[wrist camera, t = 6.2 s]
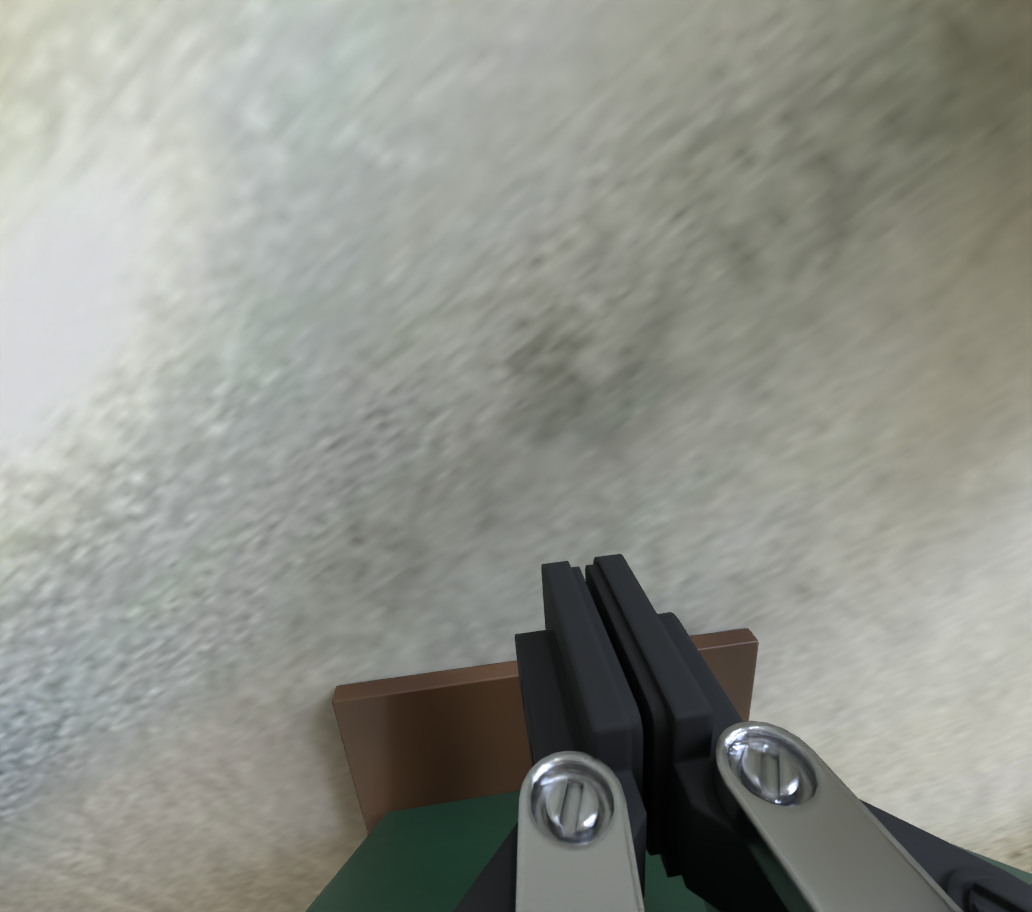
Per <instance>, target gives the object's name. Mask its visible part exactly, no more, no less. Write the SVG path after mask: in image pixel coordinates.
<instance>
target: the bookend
mask: <svg viewBox="0 0 1032 912" xmlns="http://www.w3.org/2000/svg"><path fill="white" fill-rule="evenodd" d="M689 637H690V638H691V640H692V641H693V643H694V645H695V646H696V648H697V649H698V651H699V652H700V654H701V656H702V657H703V659H704V660H705V662H706V663H707V665H708V667H709V668H710V670H711V671H712V673H713V674H714V676H715V677H716V679H717V681H718V682H719V684H720V685H721V687H722V688H723V690H724V692H725V693H726V695H727V696H728V698H729V699H730V701H731V703H732V704H733V706H734V707H735V709H736V710H737V712H738V714H739V715H740V717H741V718H742V720H743V721H744V722H747V721H749V714H750V706H751V698H752V690H753V683H754V675H755V667H756V659H757V651H758V644H759V642H758V640H757V639H756V637H755V636H754V635H753V634H752V632H751V631H750V630H749V629H748V628H745V629H738V630H731V631H724V632H716V633H709V634H702V635H695V636H689ZM332 704H333V708H334V711H335V715H336V719H337V722H338V726H339V730H340V733H341V737H342V741H343V744H344V748H345V752H346V755H347V759H348V763H349V766H350V770H351V774H352V777H353V781H354V785H355V788H356V792H357V796H358V799H359V803H360V807H361V810H362V814H363V818H364V821H365V825H366V829H367V833H368V835H369V834H370V833H371V832H372V831H373V829H374V828H375V827H376V826H377V824H378V823H379V822H380V821H381V820H382V818H383V817H384V816H385V815H386V814H387V812H391V811H397V810H403V809H409V808H415V807H422V806H428V805H434V804H440V803H446V802H453V801H459V800H465V799H471V798H477V797H484V796H490V795H496V794H502V793H508V792H515V791H521V786H522V783H523V781H524V779H525V777H526V776H527V774H528V772H529V770H530V769H531V768H532V763H531V756H530V750H529V743H528V737H527V730H526V724H525V717H524V711H523V704H522V697H521V689H520V681H519V673H518V664H517V661H510V662H503V663H496V664H489V665H482V666H474V667H467V668H460V669H453V670H446V671H439V672H432V673H425V674H417V675H410V676H403V677H396V678H389V679H382V680H375V681H368V682H360V683H353V684H346V685H339V686H337V687H336V691H335V694H334V697H333V701H332Z"/></svg>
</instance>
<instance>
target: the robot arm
mask: <svg viewBox="0 0 1032 912" xmlns="http://www.w3.org/2000/svg"><path fill="white" fill-rule="evenodd" d="M585 579H586V582H585ZM585 579H584V577H583V574H582V572H581V570H580V568H579V567H570V564H569V562H568V561H563V562H555V563H548V564H542V584H543V599H544V613H545V627H546V630H543V631H536V632H529V633H522V634H515V644H516V654H517V664H518V673H519V681H520V689H521V697H522V704H523V711H524V717H525V724H526V730H527V737H528V743H529V750H530V756H531V763H532V768H531V769H530V770H529V772H528V774H527V776H526V777H525V779H524V781H523V783H522V786H521V792H520V797H519V814H518V822H517V823H516V825H515V826H514V828H513V829H512V830H511V832H510V833H509V834H508V836H507V837H506V839H505V840H504V841H503V843H502V844H501V846H500V847H499V848H498V850H497V851H496V852H495V854H494V855H493V857H492V858H491V859H490V861H489V862H488V864H487V865H486V866H485V868H484V869H483V870H482V872H481V873H480V875H479V876H478V877H477V879H476V880H475V882H474V883H473V884H472V886H471V887H470V888H469V890H468V891H467V893H466V894H465V895H464V897H463V898H462V900H461V901H460V902H459V904H458V905H457V907H456V908H455V909H454V911H453V912H645V910H644V905H643V898H644V896H645V861H646V849H647V852H648V854H649V855H650V856H653V855H658V854H659V855H660V857H661V860H662V863H663V866H664V869H665V872H666V875H667V878H669V877H675V876H680V875H682V878H683V881H684V883H685V886H686V888H687V889H689V890H690V891H692V892H693V893H694V894H696V895H697V896H699V897H700V898H702V899H703V900H704V904H705V907H706V910H707V912H1032V885H1029V884H1027V883H1026V882H1024V881H1022V880H1020V879H1019V878H1017V877H1015V876H1014V875H1012V874H1010V873H1009V872H1007V871H1005V870H1003V869H1001V868H999V867H997V866H995V865H993V864H991V863H989V862H987V861H985V860H983V859H981V858H979V857H977V856H975V855H973V854H971V853H969V852H967V851H965V850H962V849H960V848H958V847H956V846H954V845H952V844H950V843H948V842H946V841H944V840H942V839H940V838H938V837H936V836H934V835H932V834H930V833H928V832H926V831H924V830H922V829H919V828H917V827H915V826H913V825H911V824H909V823H907V822H905V821H903V820H901V819H899V818H897V817H895V816H893V815H891V814H889V813H887V812H885V811H883V810H881V809H878V808H876V807H874V806H872V805H870V804H868V803H866V802H864V801H862V800H860V799H858V798H857V797H856V796H855V794H854V793H853V792H852V791H851V790H850V789H849V788H848V787H847V786H846V785H845V784H844V783H843V782H842V780H841V779H840V778H839V777H838V776H837V775H836V774H835V773H834V772H833V771H832V770H831V769H830V768H829V766H828V765H827V764H826V763H825V762H824V761H823V760H822V759H821V758H820V757H819V756H818V755H817V753H816V752H815V751H814V750H813V749H812V748H810V747H809V746H808V745H807V744H806V743H805V742H804V741H802V740H801V739H800V738H799V737H797V736H795V735H794V734H792V733H790V732H788V731H787V730H785V729H783V728H780V727H777V726H775V725H772V724H769V723H764V722H755V721H747V722H744V721H743V720H742V718H741V717H740V715H739V714H738V712H737V710H736V709H735V707H734V706H733V704H732V703H731V701H730V699H729V698H728V696H727V695H726V693H725V692H724V690H723V688H722V687H721V685H720V684H719V682H718V681H717V679H716V677H715V676H714V674H713V673H712V671H711V670H710V668H709V667H708V665H707V663H706V662H705V660H704V659H703V657H702V656H701V654H700V652H699V651H698V649H697V648H696V646H695V645H694V643H693V641H692V640H691V638H690V637H689V635H688V634H687V632H686V630H685V629H684V627H683V626H682V624H681V623H680V621H679V619H678V618H677V617H676V616H675V615H674V614H673V613H671V612H668V613H661V614H657V613H656V612H655V610H654V608H653V606H652V605H651V603H650V601H649V600H648V598H647V596H646V595H645V593H644V591H643V589H642V588H641V586H640V584H639V583H638V581H637V579H636V577H635V576H634V574H633V572H632V571H631V569H630V567H629V565H628V564H627V562H626V560H625V559H624V557H623V556H622V554H616V555H608V556H601V557H595V558H594V562H593V565H586V568H585Z"/></svg>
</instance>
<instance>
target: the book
mask: <svg viewBox="0 0 1032 912" xmlns="http://www.w3.org/2000/svg"><path fill="white" fill-rule="evenodd" d="M520 792H521V791H515V792H508V793H502V794H496V795H490V796H484V797H477V798H471V799H465V800H459V801H453V802H446V803H440V804H434V805H428V806H422V807H415V808H409V809H403V810H397V811H391V812H387V814H386V815H385V816H384V817H383V818H382V820H381V821H380V822H379V823H378V824H377V826H376V827H375V828H374V829H373V831H372V832H371V833H370V834H369V835H368V837H367V838H366V839H365V840H364V841H363V843H362V844H361V845H360V846H359V847H358V849H357V850H356V851H355V852H354V854H353V855H352V856H351V857H350V858H349V860H348V861H347V862H346V863H345V864H344V866H343V867H342V868H341V869H340V870H339V872H338V873H337V874H336V875H335V876H334V878H333V879H332V880H331V881H330V883H329V884H328V885H327V886H326V887H325V889H324V890H323V891H322V892H321V893H320V895H319V896H318V897H317V898H316V899H315V901H314V902H313V903H312V904H311V906H310V907H309V908H308V909H307V910H306V912H453V911H454V909H455V908H456V907H457V905H458V904H459V902H460V901H461V900H462V898H463V897H464V895H465V894H466V893H467V891H468V890H469V888H470V887H471V886H472V884H473V883H474V882H475V880H476V879H477V877H478V876H479V875H480V873H481V872H482V870H483V869H484V868H485V866H486V865H487V864H488V862H489V861H490V859H491V858H492V857H493V855H494V854H495V852H496V851H497V850H498V848H499V847H500V846H501V844H502V843H503V841H504V840H505V839H506V837H507V836H508V834H509V833H510V832H511V830H512V829H513V828H514V826H515V825H516V823H517V822H518V814H519V797H520ZM952 845H953V844H952ZM954 846H956V845H954ZM956 847H958V846H956ZM958 848H960V849H962V850H965V851H967V852H969V853H971V854H973V855H975V856H977V857H979V858H981V859H983V860H985V861H987V862H989V863H991V864H993V865H995V866H997V867H999V868H1001V869H1003V870H1005V871H1007V872H1009V873H1010V874H1012V875H1014V876H1015V877H1017V878H1019V879H1020V880H1022V881H1024V882H1026V883H1027V884H1029V885H1032V874H1030V873H1028V872H1025V871H1022V870H1020V869H1017V868H1014V867H1012V866H1009V865H1006V864H1004V863H1001V862H998V861H996V860H993V859H990V858H988V857H985V856H982V855H980V854H977V853H974V852H972V851H969V850H966V849H964V848H961V847H958ZM643 905H644V910H645V912H707V910H706V907H705V904H704V900H703V899H702V898H700V897H699V896H697V895H696V894H694V893H693V892H692V891H690V890H689V889H687V888H686V886H685V883H684V881H683V878H682V875H680V876H675V877H669V878H667V875H666V872H665V869H664V866H663V863H662V860H661V857H660V855H659V854H658V855H653V856H650V855H649V854H648V852H647V849H646V861H645V896H644V898H643Z"/></svg>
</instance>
